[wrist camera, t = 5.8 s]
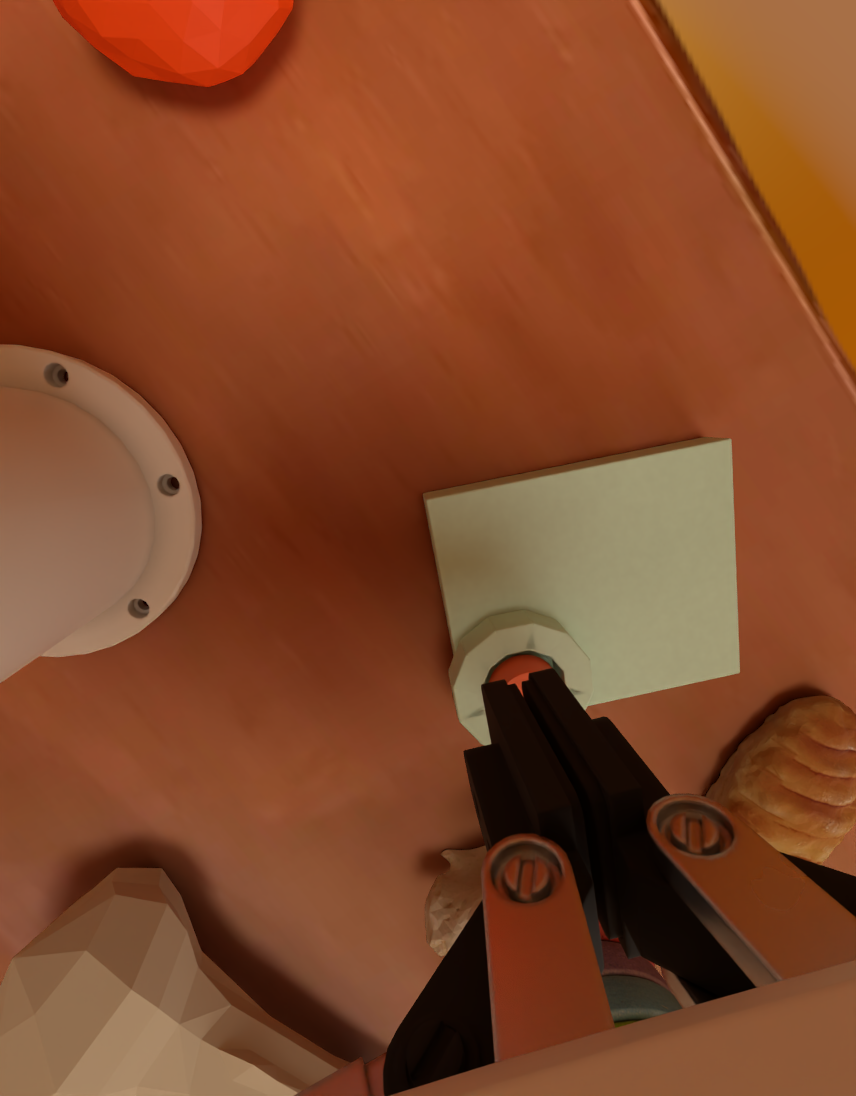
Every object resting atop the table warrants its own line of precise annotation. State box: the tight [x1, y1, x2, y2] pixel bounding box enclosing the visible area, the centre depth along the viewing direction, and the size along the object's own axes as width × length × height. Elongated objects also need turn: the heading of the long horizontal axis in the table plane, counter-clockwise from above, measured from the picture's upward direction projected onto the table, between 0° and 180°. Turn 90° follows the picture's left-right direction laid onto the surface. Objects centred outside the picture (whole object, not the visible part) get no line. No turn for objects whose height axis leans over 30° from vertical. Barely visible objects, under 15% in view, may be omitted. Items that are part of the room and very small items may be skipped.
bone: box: [425, 846, 487, 957], centre depth 24 cm, size 9×6×10 cm
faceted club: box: [0, 868, 350, 1096], centre depth 25 cm, size 9×8×25 cm
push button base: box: [423, 437, 740, 746], centre depth 23 cm, size 13×12×4 cm
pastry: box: [706, 695, 856, 865], centre depth 26 cm, size 9×7×4 cm
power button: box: [489, 655, 552, 696], centre depth 21 cm, size 3×3×2 cm
